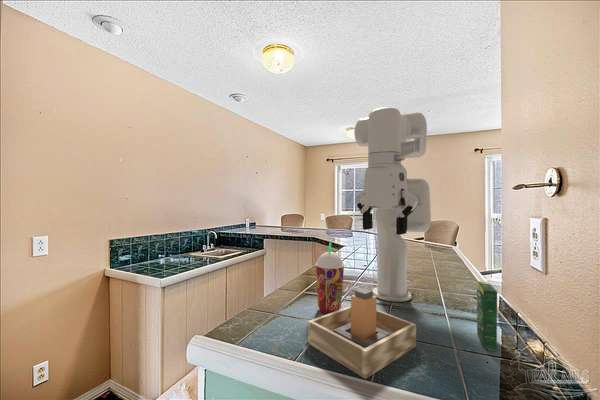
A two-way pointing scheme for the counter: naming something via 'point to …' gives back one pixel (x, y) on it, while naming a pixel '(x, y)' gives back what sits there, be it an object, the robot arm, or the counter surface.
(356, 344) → the walled tray
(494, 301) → the coffee box
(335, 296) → the smoothie
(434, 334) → the counter surface
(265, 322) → the counter surface
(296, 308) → the counter surface
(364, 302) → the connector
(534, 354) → the counter surface
